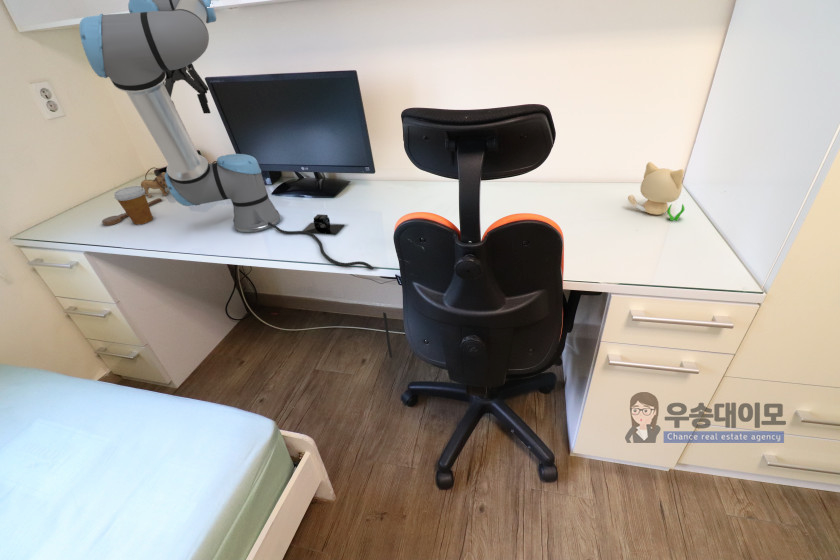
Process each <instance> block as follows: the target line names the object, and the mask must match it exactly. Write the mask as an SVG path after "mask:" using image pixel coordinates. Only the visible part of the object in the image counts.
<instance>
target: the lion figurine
mask: <svg viewBox="0 0 840 560" xmlns="http://www.w3.org/2000/svg"><path fill="white" fill-rule="evenodd" d="M165 173H166V171H165V172H160V173H159V174H158V175H157V176H156V177H154V179H153V180H147V179H145V180H142V181H141V182H140V186H141V187H142V188H143V189H144V190H145V196H148V198H152V197H153V195H152V194H150V193H149V190H150V189H152V190H160V192H161V193H162V196H165V197H166V196H168V194H169V192H168V191H166V188H168V186H167V184H166V180H165Z"/></svg>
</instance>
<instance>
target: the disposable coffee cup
mask: <svg viewBox="0 0 840 560" xmlns="http://www.w3.org/2000/svg"><path fill="white" fill-rule="evenodd" d="M113 195H114V196H113V198H114V199H115V200H116V201H117V202H118V203H119V205H120V206H121V207H122V209H123V210H124V213H127V214H128V218H129V219H130V220H131V222H132V223H133V224H134V225H136V226H137V225H144V224H147V223H150V222H152V220H154V217H153V214H152V211H151V208H150V206H149V205H148V202H149V201H148V199H147V195H145V190H144V188H142V187H141V185H132V186H127V187H124V188H121V189H118V190H115V191H114V193H113Z"/></svg>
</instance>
